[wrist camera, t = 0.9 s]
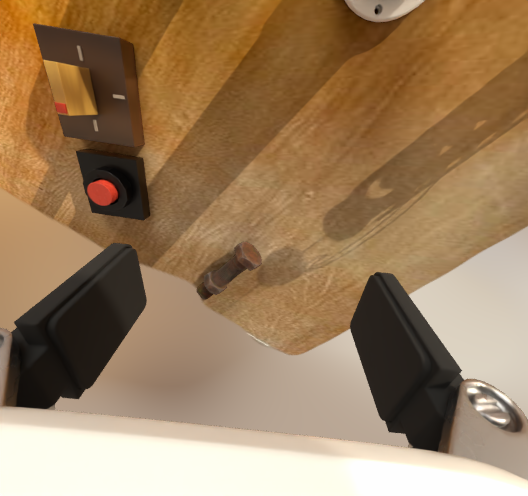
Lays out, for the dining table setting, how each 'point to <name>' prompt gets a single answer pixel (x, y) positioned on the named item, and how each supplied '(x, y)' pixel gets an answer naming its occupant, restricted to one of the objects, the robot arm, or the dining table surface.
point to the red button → (102, 192)
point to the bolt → (230, 270)
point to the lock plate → (99, 84)
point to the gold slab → (71, 89)
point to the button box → (117, 182)
